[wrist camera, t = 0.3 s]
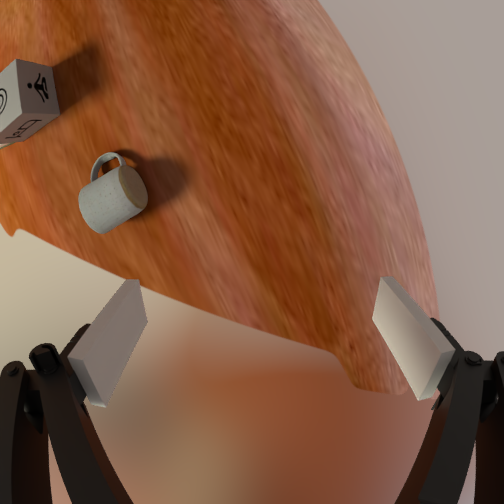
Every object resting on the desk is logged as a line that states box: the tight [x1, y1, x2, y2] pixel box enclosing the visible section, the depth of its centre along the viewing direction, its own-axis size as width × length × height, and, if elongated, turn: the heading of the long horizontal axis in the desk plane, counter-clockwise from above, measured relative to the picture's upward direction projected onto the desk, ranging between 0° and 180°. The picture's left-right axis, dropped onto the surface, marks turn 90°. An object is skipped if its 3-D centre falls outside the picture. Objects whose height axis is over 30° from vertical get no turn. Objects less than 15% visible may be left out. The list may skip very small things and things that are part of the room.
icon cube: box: [0, 59, 60, 144], centre depth 29 cm, size 10×10×10 cm
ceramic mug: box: [79, 152, 148, 234], centre depth 36 cm, size 11×8×8 cm
